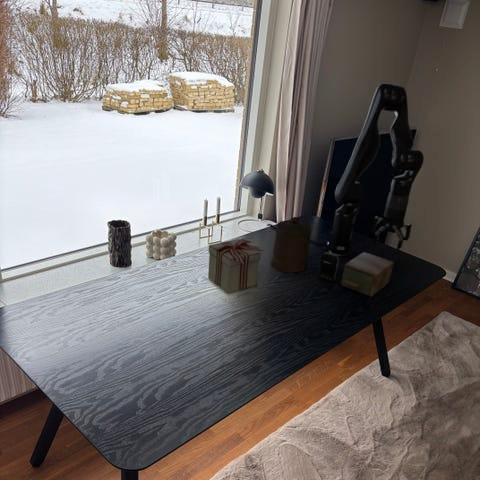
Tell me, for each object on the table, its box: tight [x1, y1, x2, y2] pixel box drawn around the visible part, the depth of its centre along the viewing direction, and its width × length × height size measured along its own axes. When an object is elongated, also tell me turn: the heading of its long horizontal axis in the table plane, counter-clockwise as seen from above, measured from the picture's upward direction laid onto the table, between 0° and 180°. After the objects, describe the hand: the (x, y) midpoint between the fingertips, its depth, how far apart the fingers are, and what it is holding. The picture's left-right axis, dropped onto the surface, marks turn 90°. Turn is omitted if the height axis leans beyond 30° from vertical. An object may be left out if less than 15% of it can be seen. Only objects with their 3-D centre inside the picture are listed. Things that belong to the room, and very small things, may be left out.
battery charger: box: [319, 252, 340, 283], centre depth 200 cm, size 7×4×11 cm, turn 49°
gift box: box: [207, 238, 264, 294], centre depth 191 cm, size 17×18×17 cm
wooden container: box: [271, 216, 312, 273], centre depth 207 cm, size 15×15×22 cm
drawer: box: [340, 266, 374, 297], centre depth 196 cm, size 22×13×8 cm, turn 141°
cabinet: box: [344, 251, 395, 298], centre depth 200 cm, size 17×14×10 cm
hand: (386, 246), depth 186 cm, fingers open, 8 cm apart
